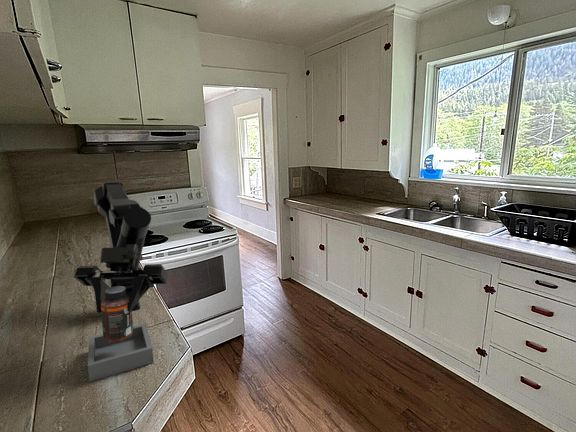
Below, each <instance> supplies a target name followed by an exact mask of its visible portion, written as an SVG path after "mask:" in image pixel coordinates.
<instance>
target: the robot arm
mask: <svg viewBox="0 0 576 432" xmlns="http://www.w3.org/2000/svg"><path fill="white" fill-rule="evenodd" d="M101 184H102V185H101V186H99V187H97V188H96V189H94V192H93V203H94V206H97V211H98V213H99V214H100V215H101V216H102V217H104V218H105V223H106V226H107V231H108V236H109V242H110V246H111V247H101V251H100V261H99V262H100V264H103V263H104V264H105V267H106V268H107V269H109V270H101V269H100V268H99V267H98V266H97V265H80V266H78V267H77V268H76V269H75V271H74V274H73V279H76V280H77V281H78V282H79V283H80V284H81V285H83V286H85V287H92V288H93V292H94V298H95V299H94V300H95V306H96V307H95V308H96V312H97V313H98V314H101V302H102V300H103V299H105V298H106V297H105V290H106V289H108V288H110V287H114V286H123V287H125V288H126V294H127V295H128V296H130V300H129V303H128V312H131V311H132V312H133V311H135V310H140V309H141V306H140V305H141V304H140V302H139V301H140V299H142V297H143V296H144V295H145V294H146V292H147V291H148V290H149V289H150V288H154V287H155V285H166V284H167V282H168V281H167V280H168V272H167V271H166V269H165V267H164V266H163V265H162V264H161V263H159V264H157V263H155V264H144V266H143V269H142V267H140V262H141V261H143V257H144V256H143V255H142V253H143V248H144V245H145V239H146V236H147V233H148V230H149V227H150V224H151V221H152V216H151V213H150V212H149V211H148V210H146V209H145V208H143V206H141V205H140V204H139V202H137V200H133V199H130V198H129V196H128V195H127V193H126V189H125V187H123V183H122V182H121V181H105V182H102V183H101Z"/></svg>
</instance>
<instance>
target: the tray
mask: <svg viewBox="0 0 576 432" xmlns="http://www.w3.org/2000/svg"><path fill="white" fill-rule="evenodd" d="M147 327H148V326H147V324H146V323H143V324H139V325H135V326H134V325H133V334H132V335H131V336H130V337H129V338H128V339H126V340H123V341H120V342H115V343H110V342H107V341H105V340H104V338H103V333H101V334H97V335H91V336H89V338H88V339H89V340H88V354H87V371H88V380H89V382H93V381H96V380H101V379H103V378H107V377H111V376H113V375H116V374H119V373H123V372H127V371H130V370H133V369H136V368H140V367H143V366H147V365H150V364H153V363H154V350H153V348H154V347H153V346H152V345H153V344H152V342H151V338H150V335H149V331H148V328H147Z"/></svg>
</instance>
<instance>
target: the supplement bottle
mask: <svg viewBox="0 0 576 432" xmlns="http://www.w3.org/2000/svg"><path fill="white" fill-rule="evenodd" d="M105 297H106V298H105V299H103V300H102V302H101V313H100V314H101V326H102V334H103V338H104V340H105V341H107V342H110V343H115V342H120V341H123V340H126V339H128V338H129V337H130V336H131V335H132V334H133V327H134V322H133V310H132V311H131V312H128V303H129V300H130V296H128V295H127V294H126V288H125V287H123V286H114V287H110V288H108V289H106V290H105Z"/></svg>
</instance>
